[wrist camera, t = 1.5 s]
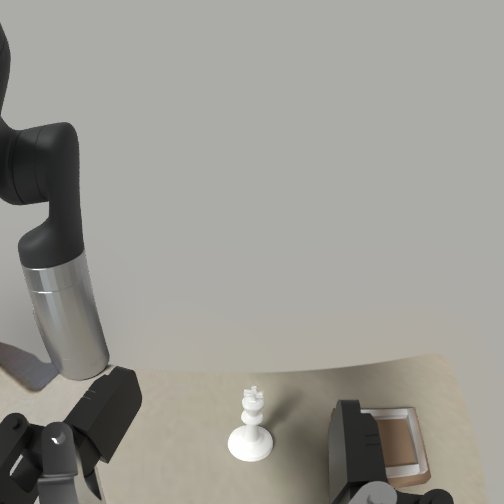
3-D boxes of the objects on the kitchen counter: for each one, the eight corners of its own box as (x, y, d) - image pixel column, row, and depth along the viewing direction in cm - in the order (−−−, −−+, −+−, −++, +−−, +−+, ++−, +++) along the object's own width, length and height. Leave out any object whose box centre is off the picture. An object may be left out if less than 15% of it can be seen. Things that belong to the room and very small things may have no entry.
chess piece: (232, 424, 30) (231, 366, 26) (274, 429, 29) (283, 371, 26) (224, 458, 25) (220, 404, 22) (270, 464, 25) (280, 411, 21)
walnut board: (329, 491, 21) (335, 483, 20) (330, 415, 31) (335, 404, 30) (424, 483, 19) (434, 474, 18) (410, 414, 29) (417, 403, 28)
